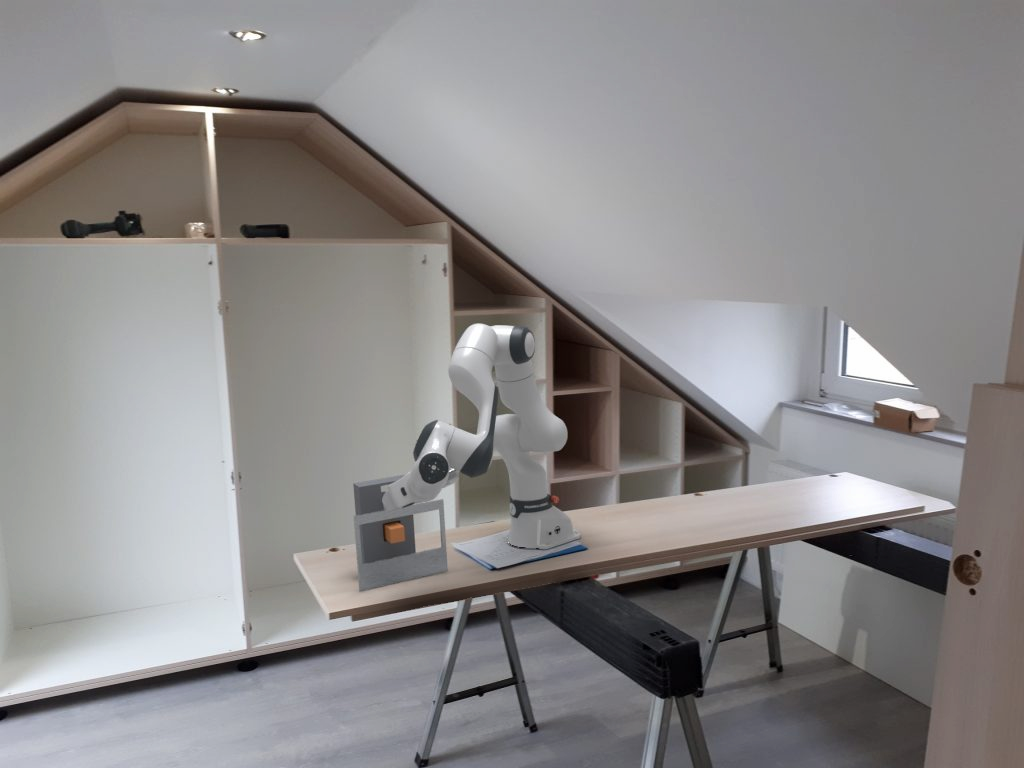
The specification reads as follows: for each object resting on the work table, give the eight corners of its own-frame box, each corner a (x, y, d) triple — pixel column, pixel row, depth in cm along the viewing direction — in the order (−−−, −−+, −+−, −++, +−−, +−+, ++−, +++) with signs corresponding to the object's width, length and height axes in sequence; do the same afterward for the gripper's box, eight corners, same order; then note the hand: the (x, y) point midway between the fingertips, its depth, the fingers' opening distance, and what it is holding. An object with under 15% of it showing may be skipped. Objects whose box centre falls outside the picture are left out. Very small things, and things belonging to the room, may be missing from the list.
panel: (419, 569, 237) (413, 479, 233) (368, 581, 230) (361, 488, 226) (410, 562, 243) (404, 474, 239) (360, 573, 236) (353, 483, 232)
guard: (447, 570, 235) (443, 499, 232) (359, 591, 223) (354, 516, 220) (436, 563, 241) (432, 493, 239) (351, 582, 230) (345, 509, 227)
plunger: (405, 540, 231) (404, 526, 231) (391, 543, 229) (390, 529, 229) (396, 534, 237) (395, 520, 237) (382, 536, 236) (381, 523, 235)
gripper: (456, 455, 213) (447, 469, 226) (382, 488, 206) (377, 500, 219) (467, 477, 212) (457, 490, 225) (392, 511, 205) (387, 522, 217)
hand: (417, 495), depth 222 cm, fingers closed
